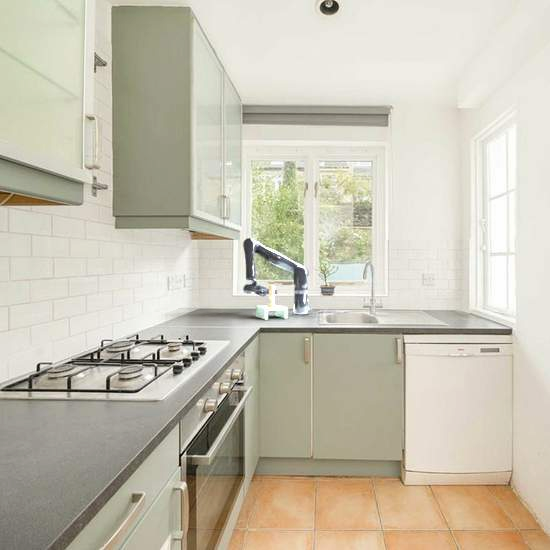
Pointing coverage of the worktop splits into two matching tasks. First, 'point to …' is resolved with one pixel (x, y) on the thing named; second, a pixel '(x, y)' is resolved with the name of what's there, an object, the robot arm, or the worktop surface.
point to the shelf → (263, 310)
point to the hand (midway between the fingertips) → (270, 292)
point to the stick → (271, 296)
